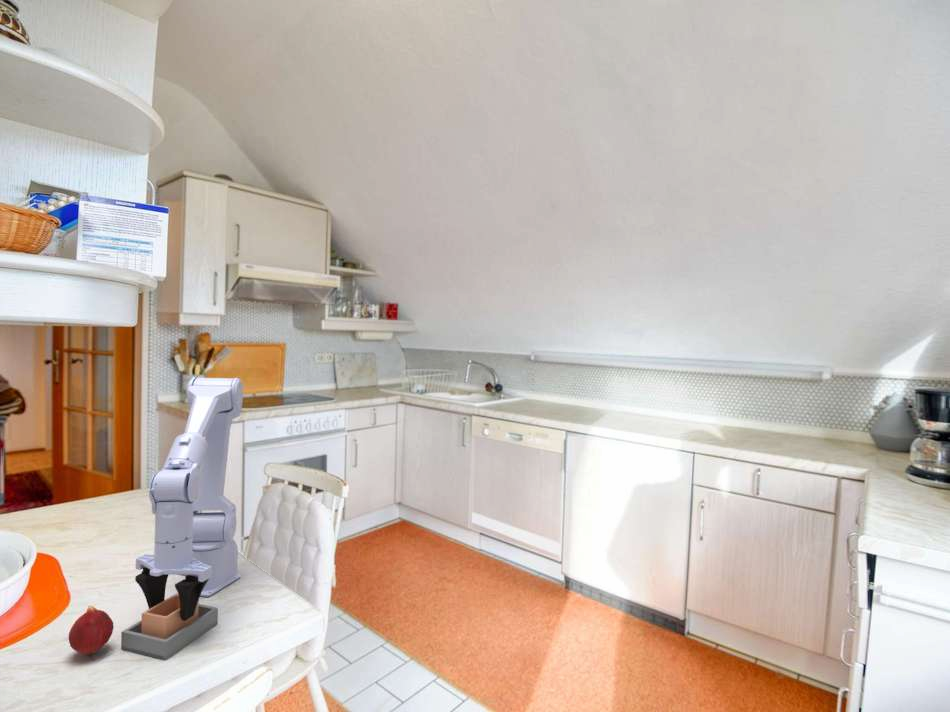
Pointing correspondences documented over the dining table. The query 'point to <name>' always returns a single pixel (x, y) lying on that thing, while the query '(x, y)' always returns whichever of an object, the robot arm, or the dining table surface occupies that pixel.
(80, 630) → the onion
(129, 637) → the big crate
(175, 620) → the small crate
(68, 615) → the dining table surface
